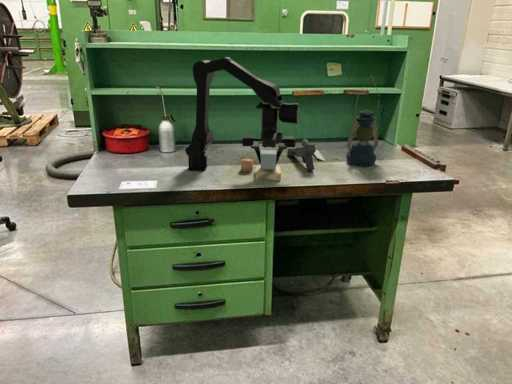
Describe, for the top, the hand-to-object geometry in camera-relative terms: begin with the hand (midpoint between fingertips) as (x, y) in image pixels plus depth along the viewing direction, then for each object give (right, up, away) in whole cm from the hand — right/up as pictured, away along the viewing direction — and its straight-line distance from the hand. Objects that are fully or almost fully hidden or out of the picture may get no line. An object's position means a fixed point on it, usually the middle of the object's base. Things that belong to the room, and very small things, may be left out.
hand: (268, 164), depth 153 cm
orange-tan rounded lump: (-8, -2, +7) cm, 11 cm away
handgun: (+13, +1, +18) cm, 22 cm away
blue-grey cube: (0, -1, 0) cm, 1 cm away
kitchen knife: (+21, +7, +34) cm, 41 cm away
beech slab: (0, -4, +2) cm, 5 cm away
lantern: (+38, +2, +19) cm, 43 cm away
